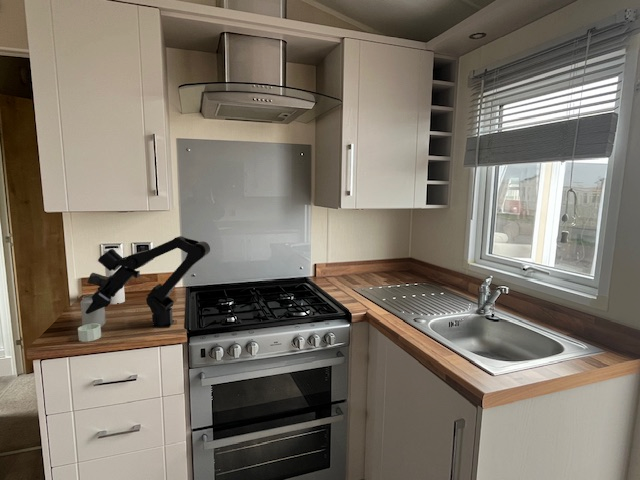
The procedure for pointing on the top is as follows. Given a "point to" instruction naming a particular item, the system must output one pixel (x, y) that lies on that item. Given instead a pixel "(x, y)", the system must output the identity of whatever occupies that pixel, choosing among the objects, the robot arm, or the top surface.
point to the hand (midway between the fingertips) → (88, 309)
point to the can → (94, 316)
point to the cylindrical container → (120, 294)
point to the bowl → (89, 332)
